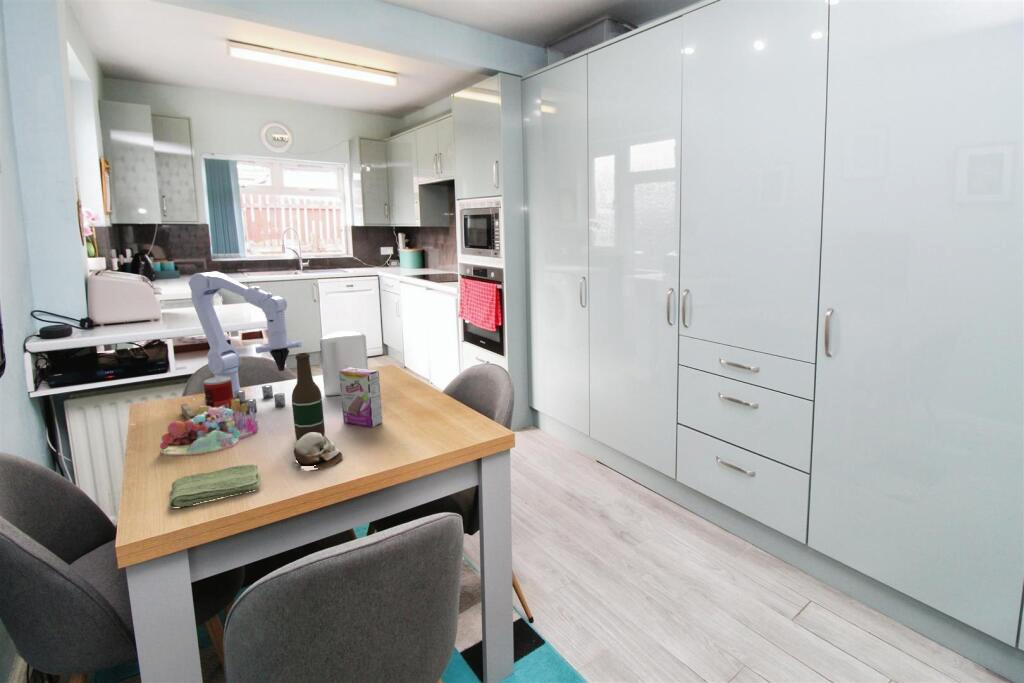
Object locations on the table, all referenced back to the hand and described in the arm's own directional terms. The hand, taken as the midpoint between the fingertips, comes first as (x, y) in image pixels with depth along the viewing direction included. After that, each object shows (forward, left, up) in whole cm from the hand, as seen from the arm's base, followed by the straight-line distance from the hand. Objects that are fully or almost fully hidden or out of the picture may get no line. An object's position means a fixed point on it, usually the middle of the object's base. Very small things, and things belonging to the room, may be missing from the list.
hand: (281, 370), depth 189 cm
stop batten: (+2, -30, -10) cm, 31 cm away
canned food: (+2, -20, -10) cm, 23 cm away
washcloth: (+62, -34, -11) cm, 72 cm away
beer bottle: (+45, -7, -10) cm, 47 cm away
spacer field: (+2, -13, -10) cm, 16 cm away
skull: (+62, -12, -10) cm, 64 cm away
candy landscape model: (+25, -28, -10) cm, 39 cm away
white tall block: (+8, +21, -10) cm, 25 cm away
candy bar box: (+44, +9, -10) cm, 46 cm away
